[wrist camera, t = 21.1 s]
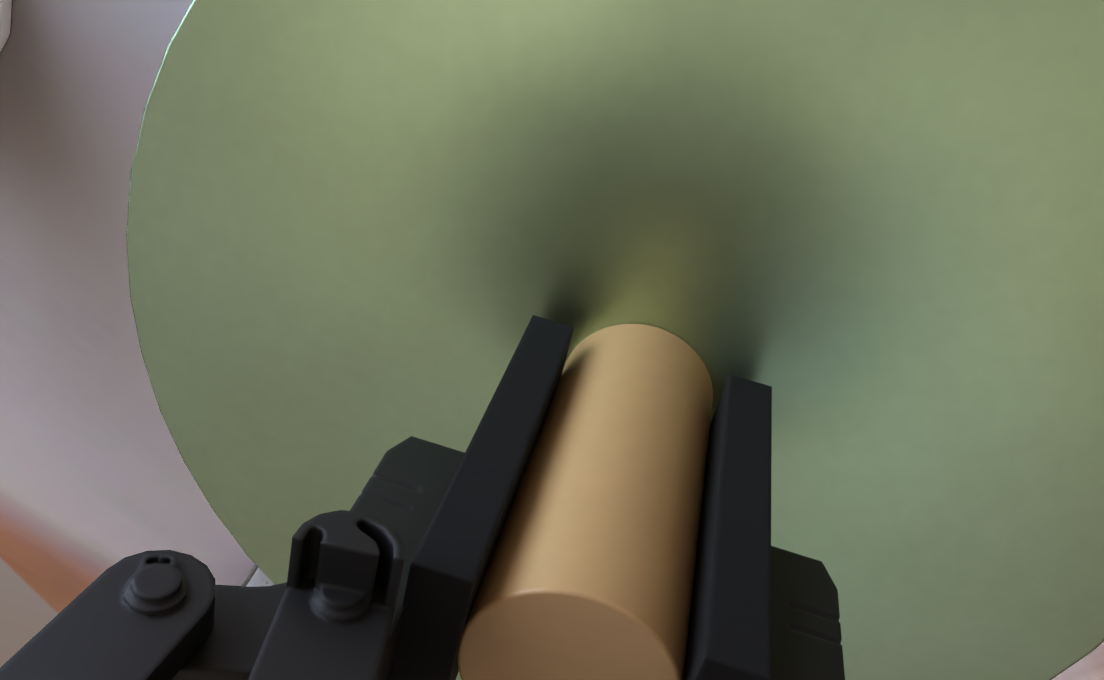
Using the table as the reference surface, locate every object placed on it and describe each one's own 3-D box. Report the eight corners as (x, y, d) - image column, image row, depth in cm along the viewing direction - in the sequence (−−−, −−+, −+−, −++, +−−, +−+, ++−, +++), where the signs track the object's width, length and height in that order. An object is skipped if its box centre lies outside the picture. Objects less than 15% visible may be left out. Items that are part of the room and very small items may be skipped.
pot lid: (1563, -46, 13) (2482, 105, 6) (938, 833, 23) (1010, 1273, 16) (170, -402, 15) (-404, -620, 7) (152, 576, 25) (-100, 879, 18)
